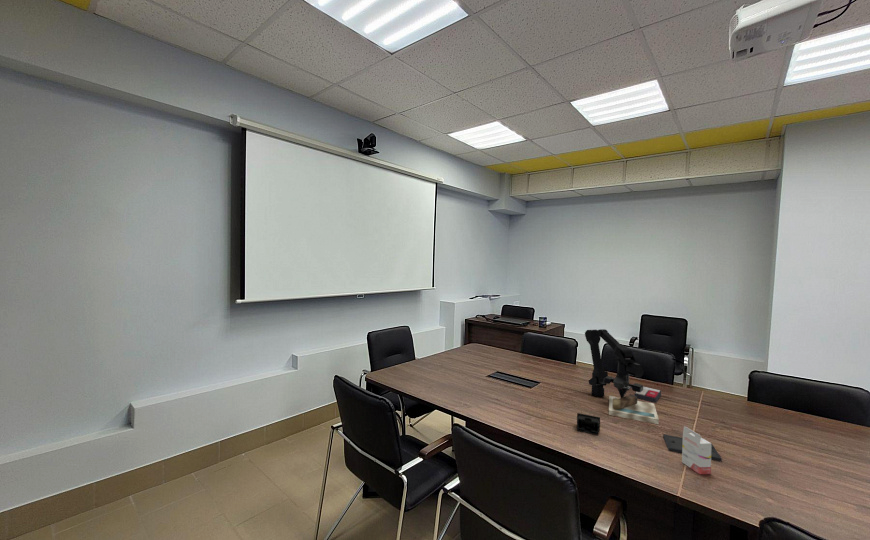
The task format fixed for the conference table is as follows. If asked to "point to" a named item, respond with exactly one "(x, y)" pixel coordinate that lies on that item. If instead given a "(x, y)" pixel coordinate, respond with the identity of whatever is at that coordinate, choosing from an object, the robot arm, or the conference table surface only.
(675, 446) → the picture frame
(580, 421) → the end cap
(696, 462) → the ink cartridge box
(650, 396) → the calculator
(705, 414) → the conference table surface
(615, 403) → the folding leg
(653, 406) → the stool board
